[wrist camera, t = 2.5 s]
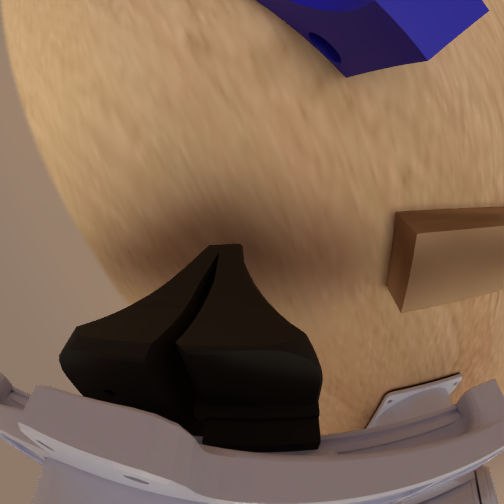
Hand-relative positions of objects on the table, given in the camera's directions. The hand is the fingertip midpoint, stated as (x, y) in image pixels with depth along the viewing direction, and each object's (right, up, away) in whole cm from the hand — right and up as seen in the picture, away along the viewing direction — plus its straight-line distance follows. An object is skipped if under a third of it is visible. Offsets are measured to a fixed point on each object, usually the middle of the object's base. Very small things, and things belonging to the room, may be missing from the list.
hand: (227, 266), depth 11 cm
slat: (+14, +1, 0) cm, 14 cm away
